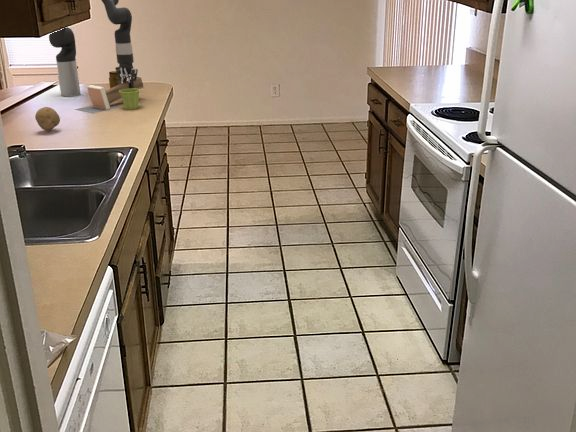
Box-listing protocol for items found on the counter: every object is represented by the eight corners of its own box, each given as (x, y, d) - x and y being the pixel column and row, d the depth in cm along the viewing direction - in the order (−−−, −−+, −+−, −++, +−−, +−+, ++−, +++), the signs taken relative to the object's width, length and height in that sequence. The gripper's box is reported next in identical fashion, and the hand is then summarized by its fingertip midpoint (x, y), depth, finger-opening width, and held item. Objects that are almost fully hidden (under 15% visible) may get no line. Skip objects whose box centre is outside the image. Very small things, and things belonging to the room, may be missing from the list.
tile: (92, 107, 286) (86, 86, 281) (96, 105, 288) (90, 85, 283) (106, 109, 281) (100, 89, 276) (110, 108, 282) (103, 87, 277)
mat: (74, 110, 283) (74, 109, 282) (101, 104, 294) (101, 103, 293) (93, 114, 275) (92, 113, 274) (120, 108, 286) (119, 107, 285)
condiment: (120, 93, 317) (117, 70, 312) (127, 96, 311) (125, 72, 306) (107, 95, 313) (104, 71, 308) (114, 98, 307) (111, 74, 302)
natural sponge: (54, 127, 255) (50, 103, 252) (66, 130, 250) (62, 106, 246) (34, 131, 249) (29, 107, 245) (45, 135, 244) (41, 110, 240)
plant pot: (116, 110, 282) (114, 91, 279) (130, 106, 290) (128, 87, 287) (132, 112, 278) (130, 93, 275) (146, 107, 286) (144, 89, 283)
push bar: (100, 104, 286) (97, 94, 283) (138, 86, 301) (136, 76, 299) (105, 105, 284) (102, 95, 281) (143, 87, 299) (141, 77, 297)
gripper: (108, 52, 289) (113, 89, 296) (128, 54, 281) (132, 92, 288) (121, 50, 294) (125, 86, 301) (140, 52, 287) (144, 89, 293)
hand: (128, 89), depth 294 cm, fingers closed on push bar, 3 cm apart
